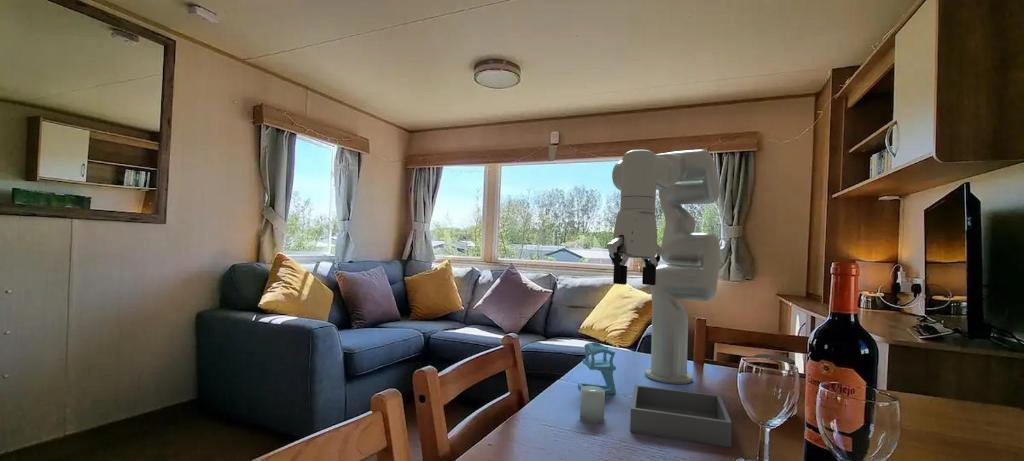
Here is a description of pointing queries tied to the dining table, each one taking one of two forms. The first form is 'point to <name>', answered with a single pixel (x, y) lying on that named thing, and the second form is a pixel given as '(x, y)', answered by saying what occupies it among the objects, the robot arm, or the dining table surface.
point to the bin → (680, 415)
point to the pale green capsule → (592, 404)
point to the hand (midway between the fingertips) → (634, 284)
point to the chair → (600, 366)
